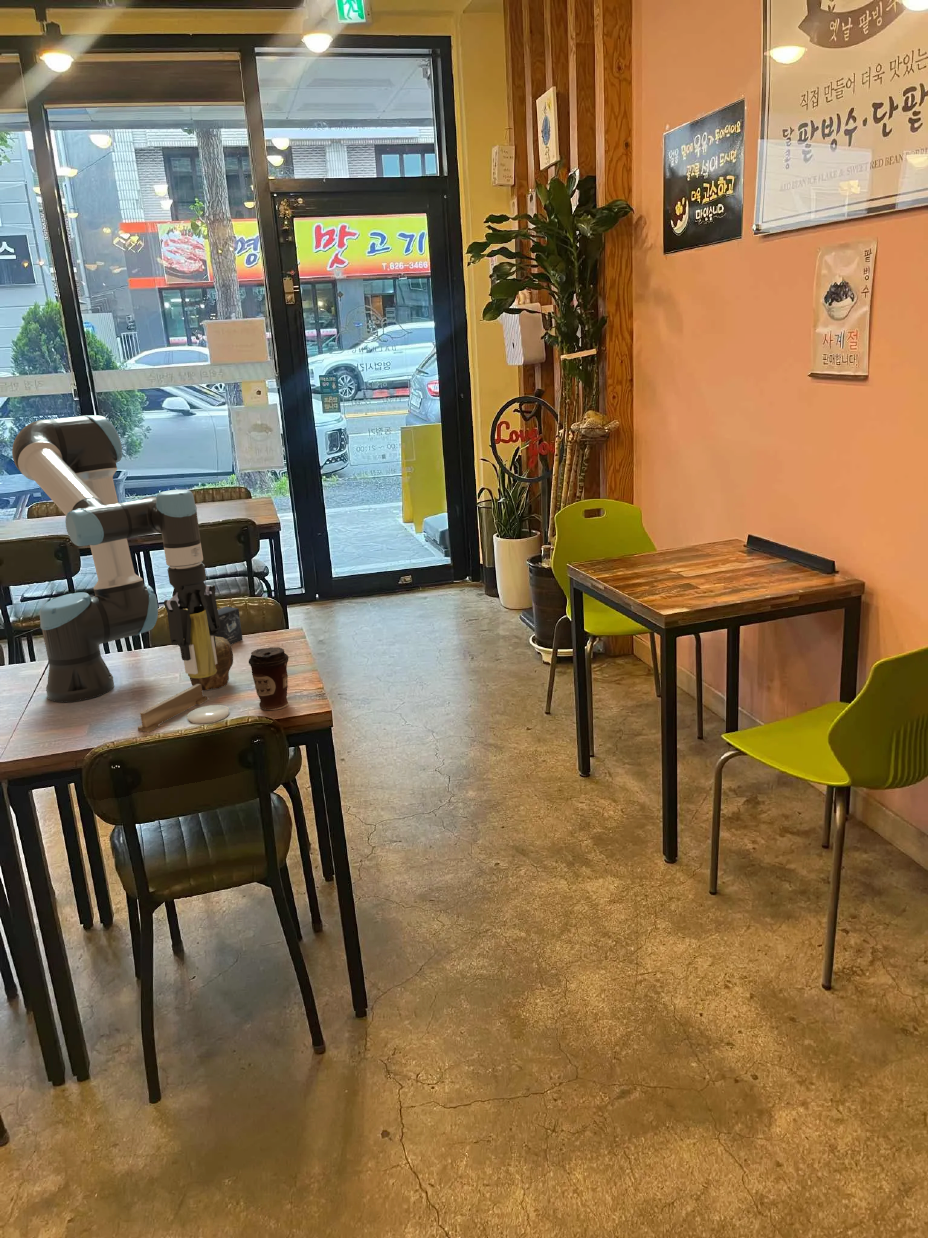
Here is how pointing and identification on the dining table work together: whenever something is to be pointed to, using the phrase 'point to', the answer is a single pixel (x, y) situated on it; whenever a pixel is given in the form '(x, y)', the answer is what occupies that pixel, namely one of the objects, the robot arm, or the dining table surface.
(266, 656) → the coffee cup
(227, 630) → the box
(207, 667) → the vase
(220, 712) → the coaster
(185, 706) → the divider
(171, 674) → the dining table surface
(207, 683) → the shell
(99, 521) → the robot arm
